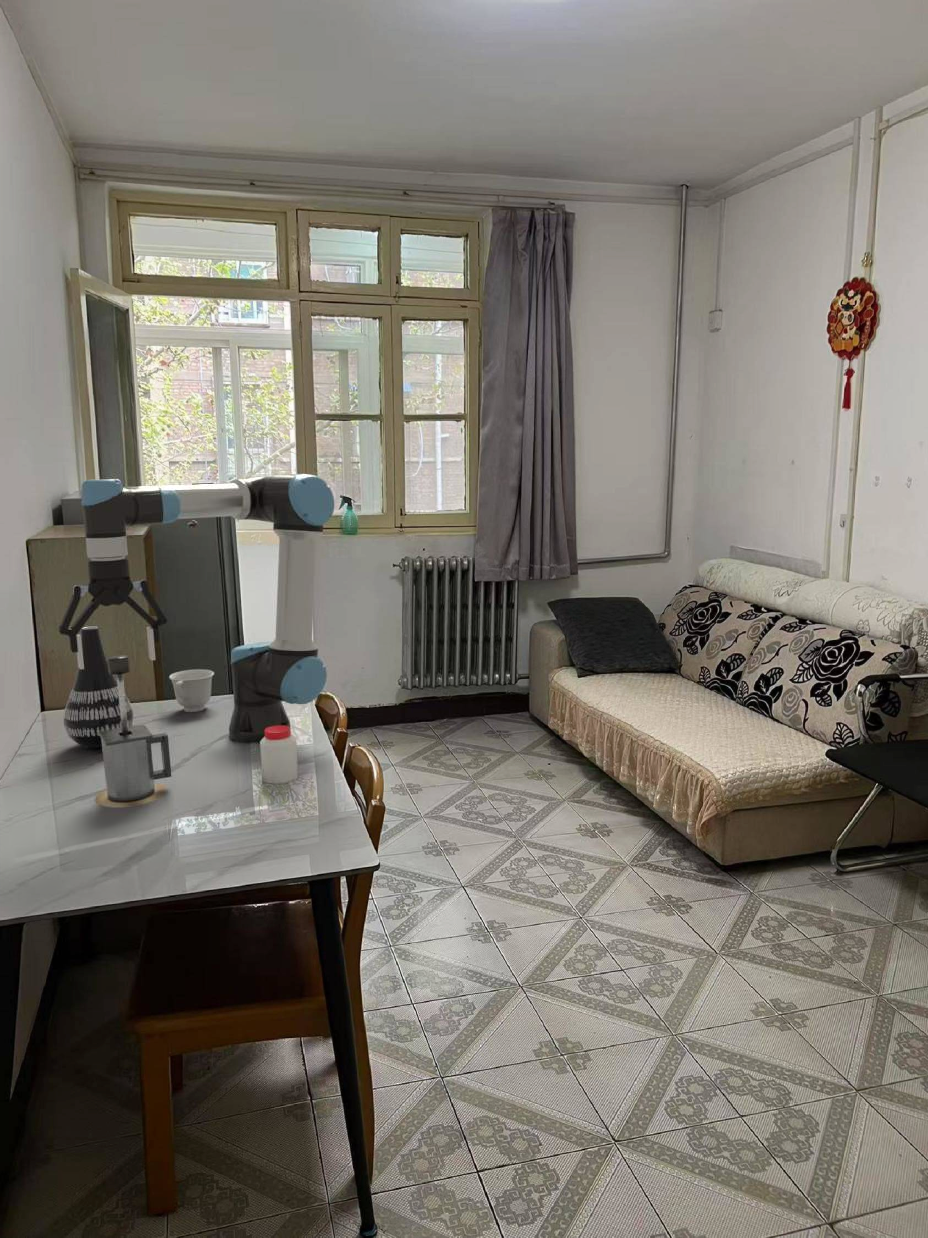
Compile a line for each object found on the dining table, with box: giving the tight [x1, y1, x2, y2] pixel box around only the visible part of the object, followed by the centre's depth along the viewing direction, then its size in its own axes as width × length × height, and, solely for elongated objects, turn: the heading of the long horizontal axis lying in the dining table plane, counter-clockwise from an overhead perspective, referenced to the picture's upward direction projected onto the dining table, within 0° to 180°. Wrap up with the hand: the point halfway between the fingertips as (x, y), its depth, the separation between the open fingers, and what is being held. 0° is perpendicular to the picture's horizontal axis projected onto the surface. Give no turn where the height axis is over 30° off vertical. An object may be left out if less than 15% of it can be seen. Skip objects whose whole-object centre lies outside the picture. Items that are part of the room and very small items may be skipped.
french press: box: [99, 724, 172, 803], centre depth 190 cm, size 13×9×13 cm
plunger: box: [107, 654, 131, 735], centre depth 187 cm, size 7×7×19 cm
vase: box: [63, 625, 134, 751], centre depth 224 cm, size 16×16×30 cm
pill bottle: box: [259, 725, 299, 785], centre depth 200 cm, size 8×8×11 cm
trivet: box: [94, 782, 168, 808], centre depth 191 cm, size 14×14×1 cm
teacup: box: [168, 668, 215, 713], centre depth 254 cm, size 12×15×10 cm
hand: (117, 663), depth 185 cm, fingers open, 13 cm apart
